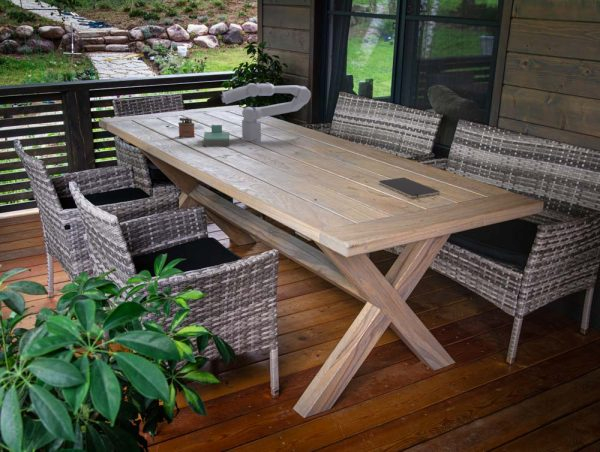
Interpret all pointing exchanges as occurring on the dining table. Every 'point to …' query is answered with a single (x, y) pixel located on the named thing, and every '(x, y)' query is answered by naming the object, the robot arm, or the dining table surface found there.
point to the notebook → (408, 187)
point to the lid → (216, 134)
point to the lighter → (186, 128)
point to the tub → (216, 143)
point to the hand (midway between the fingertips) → (207, 103)
